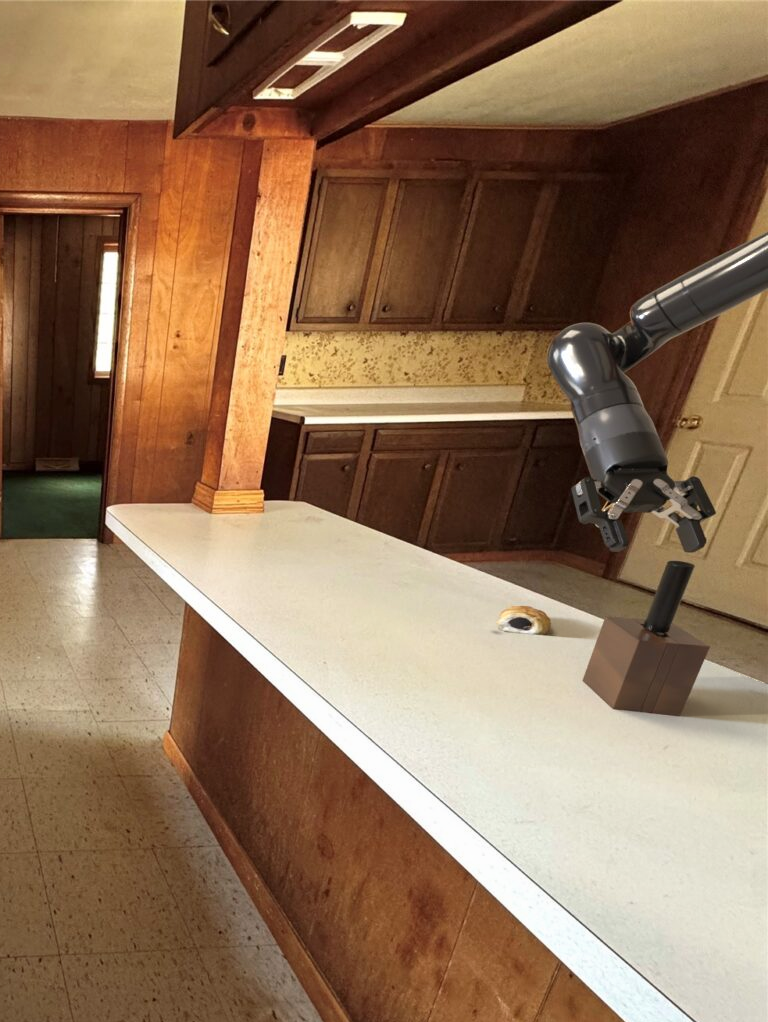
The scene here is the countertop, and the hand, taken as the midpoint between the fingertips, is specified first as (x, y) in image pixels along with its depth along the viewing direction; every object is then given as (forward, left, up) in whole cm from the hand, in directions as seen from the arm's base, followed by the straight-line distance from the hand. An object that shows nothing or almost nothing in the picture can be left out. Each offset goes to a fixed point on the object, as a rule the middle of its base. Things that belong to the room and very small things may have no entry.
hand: (657, 549), depth 86 cm
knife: (-1, +4, -20) cm, 20 cm away
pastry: (+2, -21, -21) cm, 30 cm away
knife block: (-1, +4, -21) cm, 21 cm away
